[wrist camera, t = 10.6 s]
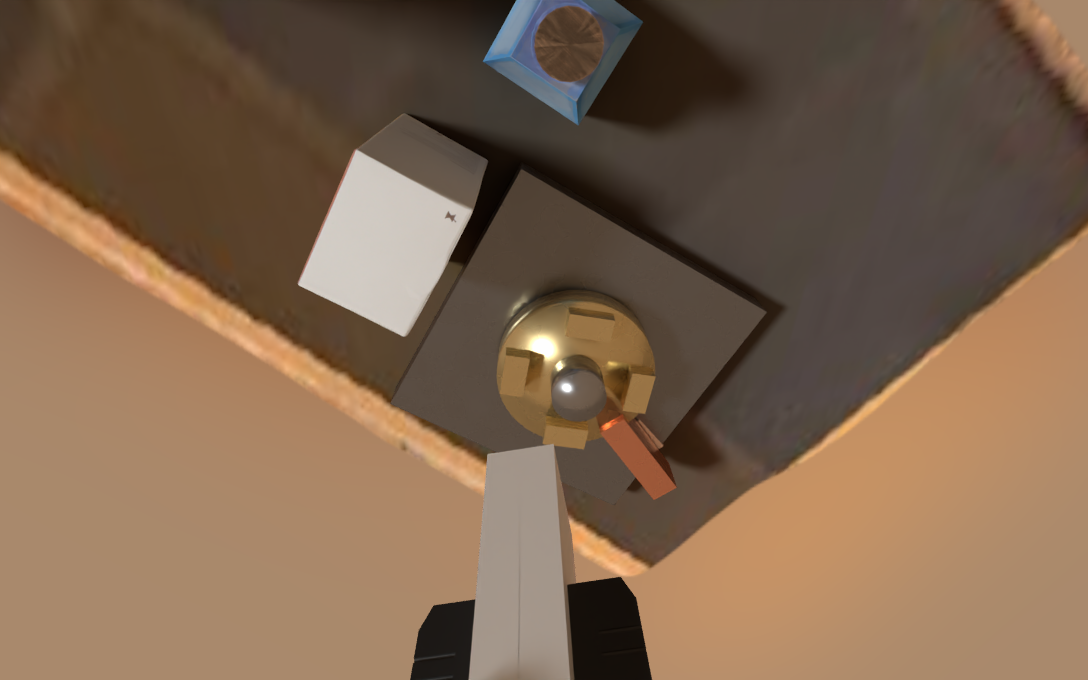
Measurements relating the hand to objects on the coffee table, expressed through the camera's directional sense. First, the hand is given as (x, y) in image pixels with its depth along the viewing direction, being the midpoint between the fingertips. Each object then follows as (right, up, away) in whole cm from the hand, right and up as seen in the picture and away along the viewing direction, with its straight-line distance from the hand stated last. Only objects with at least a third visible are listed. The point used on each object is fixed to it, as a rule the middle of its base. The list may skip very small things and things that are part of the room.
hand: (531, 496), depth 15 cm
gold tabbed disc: (+4, 0, +33) cm, 33 cm away
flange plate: (+2, +3, +34) cm, 35 cm away
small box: (-8, +14, +29) cm, 33 cm away
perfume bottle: (+1, +22, +25) cm, 34 cm away
